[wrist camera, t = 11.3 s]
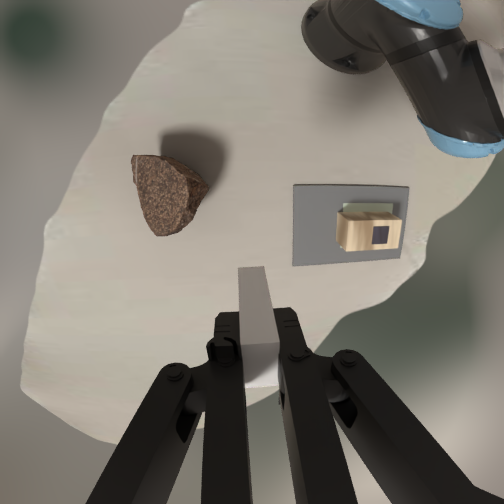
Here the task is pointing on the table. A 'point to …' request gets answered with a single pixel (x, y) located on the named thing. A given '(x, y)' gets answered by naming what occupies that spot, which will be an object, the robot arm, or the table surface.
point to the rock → (167, 192)
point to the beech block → (367, 230)
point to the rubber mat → (325, 220)
